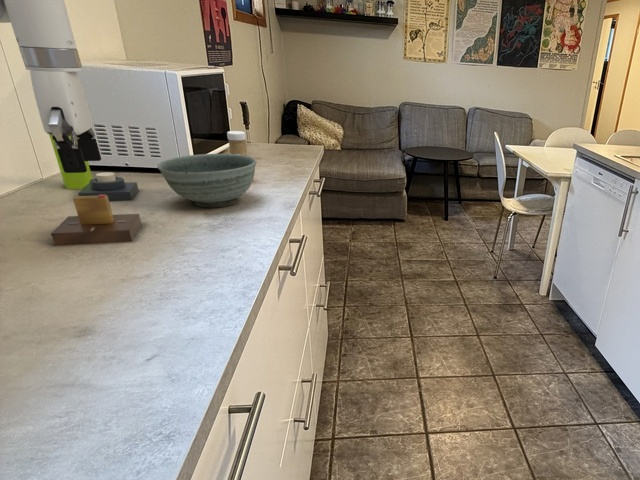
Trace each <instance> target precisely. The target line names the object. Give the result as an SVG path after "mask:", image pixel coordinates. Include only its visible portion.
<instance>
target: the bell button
mask: <svg viewBox="0 0 640 480" xmlns="http://www.w3.org/2000/svg"><path fill="white" fill-rule="evenodd" d="M115 177H116V175H115V172H111V171H110V172H109V171H107V172H104V171H103V172H98V173H95V178H97V181H98V182H111V181H116V178H115Z"/></svg>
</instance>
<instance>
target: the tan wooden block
mask: <svg viewBox="0 0 640 480" xmlns="http://www.w3.org/2000/svg"><path fill="white" fill-rule="evenodd" d="M72 200H73V204H74V207H75V210H76V214H77V216H78V217H79V220H80V223H81V225H87V224H111V223H113V221H114V218H113V215H114V214H113V211H112V207H111V204H110V201H109V199H108V196H107V195H106V194H99V196H79V195H76V196H74V197H73V198H72Z"/></svg>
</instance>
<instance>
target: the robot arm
mask: <svg viewBox="0 0 640 480" xmlns="http://www.w3.org/2000/svg"><path fill="white" fill-rule="evenodd" d="M0 23H1V24H9V23H10V24H11V28H12V30H13V33H14V37H15V40H16V43H17V46H18V49H19V52H20V55H21V56H20V57H21V58H22V62H23V64H24V68H25V70H27V71H29V72H30V80H31V85H32V91H33V94H34V98H35V103H36V106H37V110H38V113H39V117H40V120H41V123H42V128H43V131H44V132H45V133H46V134H47V135H48V136H49V135H53V137H52V138H53V140H54V141H55V146H56V148H57V151H58V154H59V157H60V160H61V164H62V167H63V170H64V172H65V173H85V172H86V171H87V168H86V165H85V161H88V162H100V161H101V160H102V156H101V152H100V149H99V146H98V142H97V139H96V135H95V132H94V130H93V125H94V123H93V118H92V114H91V109H90V106H89V103H88V99H87V97H86V93H85V91H84V87H83V84H82V81H81V78H80V75H79V73H78V72H83V71H84V69H83V65H82V61H81V58H80V54H79V51H78V46H77V44H76V40H75V37H74V32H73V29H72V26H71V22H70V19H69V14H68V11H67V7H66V3H65V0H0ZM68 136H71V140H70V139H69V137H68ZM77 138H79V139H77Z"/></svg>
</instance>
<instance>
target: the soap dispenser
mask: <svg viewBox="0 0 640 480" xmlns="http://www.w3.org/2000/svg"><path fill="white" fill-rule="evenodd" d="M48 136H49V139H50V142H51V145H52V148H53V151H54V155H55V158H56V161H57V165H58V167H59V170H60V175H61V177H62V180H63V183H64V187H65V188H66V189H68V190H82V189H83V188H84V187H85V186H86V185H87V184H89V183H90V182H89V181H90V180H91V179H94V178H93V174H92V171H91V167H90V164H89V161H85V165H86V168H87V171H86V172H85V173H65V172H64V170H63V167H62V164H61V160H60V157H59V154H58V151H57V148H56V146H55V141H54V140H53V138H52V137H53V135H49V134H48ZM68 137H69V139H70V140H71V136H68ZM77 139H79V138H77Z"/></svg>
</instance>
